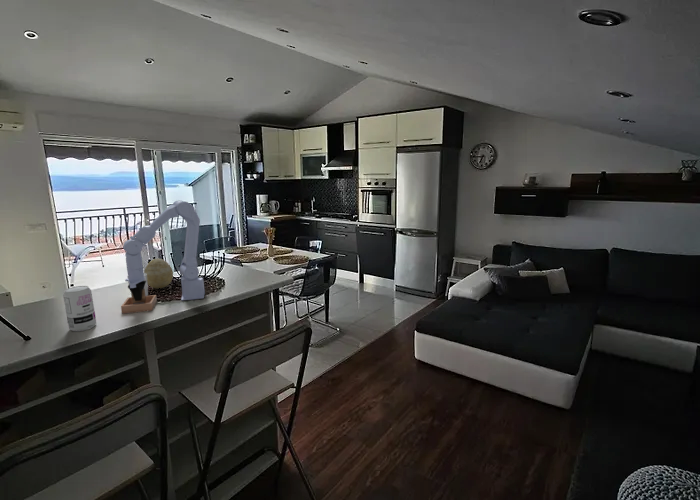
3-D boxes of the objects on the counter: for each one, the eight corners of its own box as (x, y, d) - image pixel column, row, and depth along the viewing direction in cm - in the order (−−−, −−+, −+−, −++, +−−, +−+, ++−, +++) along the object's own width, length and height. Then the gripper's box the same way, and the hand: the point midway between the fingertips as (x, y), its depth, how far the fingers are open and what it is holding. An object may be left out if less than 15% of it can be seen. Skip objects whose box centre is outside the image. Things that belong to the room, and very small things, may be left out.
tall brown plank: (146, 304, 153) (144, 288, 152) (145, 305, 151) (143, 290, 150) (134, 305, 152) (132, 289, 150) (133, 307, 150) (131, 291, 149)
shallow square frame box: (156, 301, 159) (156, 294, 158) (152, 310, 148) (151, 303, 148) (128, 304, 155) (127, 297, 154) (121, 313, 145) (120, 306, 144)
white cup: (140, 299, 162) (138, 278, 160) (125, 298, 163) (123, 277, 161) (153, 293, 169) (150, 273, 167) (139, 292, 171) (136, 272, 169)
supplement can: (78, 323, 136) (72, 285, 133) (101, 322, 136) (95, 285, 133) (63, 332, 128) (56, 292, 125) (88, 331, 128) (81, 292, 125)
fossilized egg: (155, 293, 169) (151, 263, 166) (140, 289, 176) (136, 259, 172) (179, 286, 180) (176, 257, 177) (164, 282, 186) (161, 254, 183)
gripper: (128, 264, 154) (132, 294, 156) (119, 273, 140) (123, 306, 143) (146, 263, 156) (150, 293, 159) (139, 272, 142) (143, 304, 145)
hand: (139, 299), depth 151 cm, fingers closed on tall brown plank, 2 cm apart
